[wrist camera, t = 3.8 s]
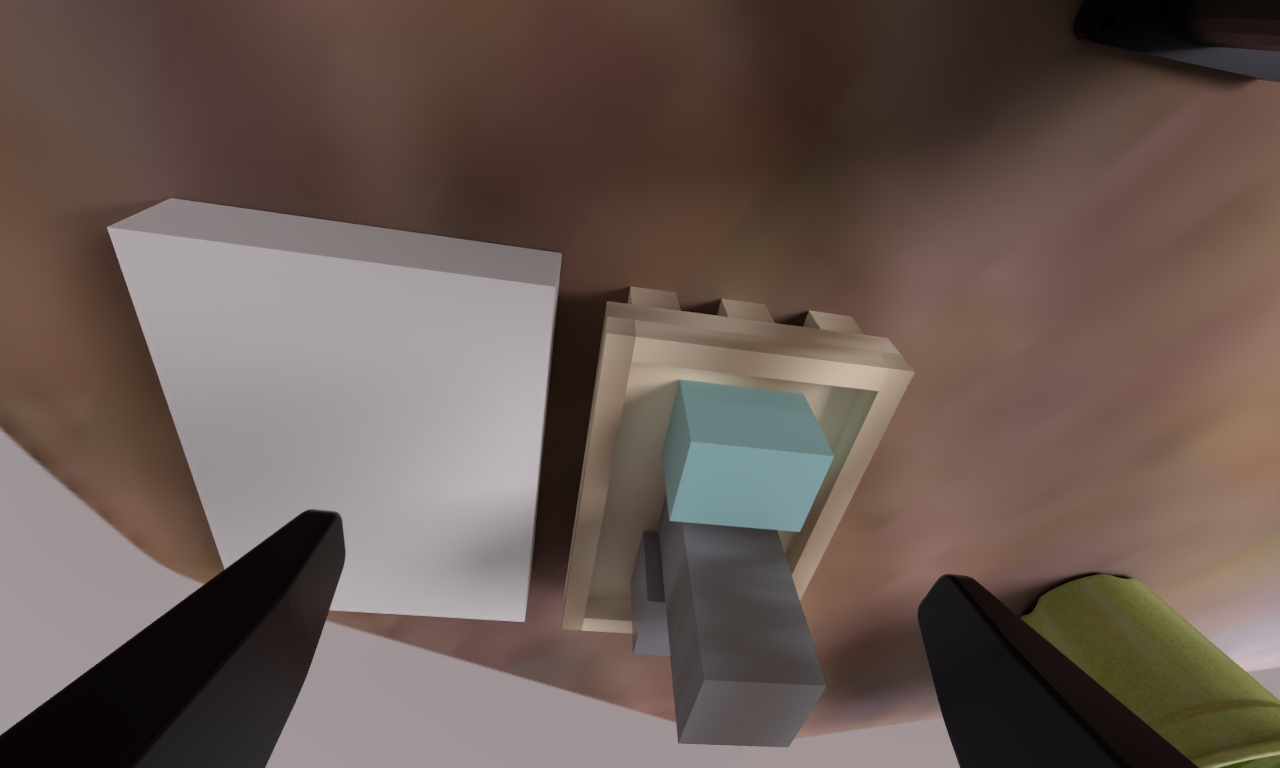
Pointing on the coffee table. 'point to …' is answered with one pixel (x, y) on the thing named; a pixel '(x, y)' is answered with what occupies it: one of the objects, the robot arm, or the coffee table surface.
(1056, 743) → the robot arm
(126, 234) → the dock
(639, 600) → the charcoal block
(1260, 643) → the coffee table surface
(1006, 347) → the coffee table surface
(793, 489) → the teal block
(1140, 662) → the plant pot
